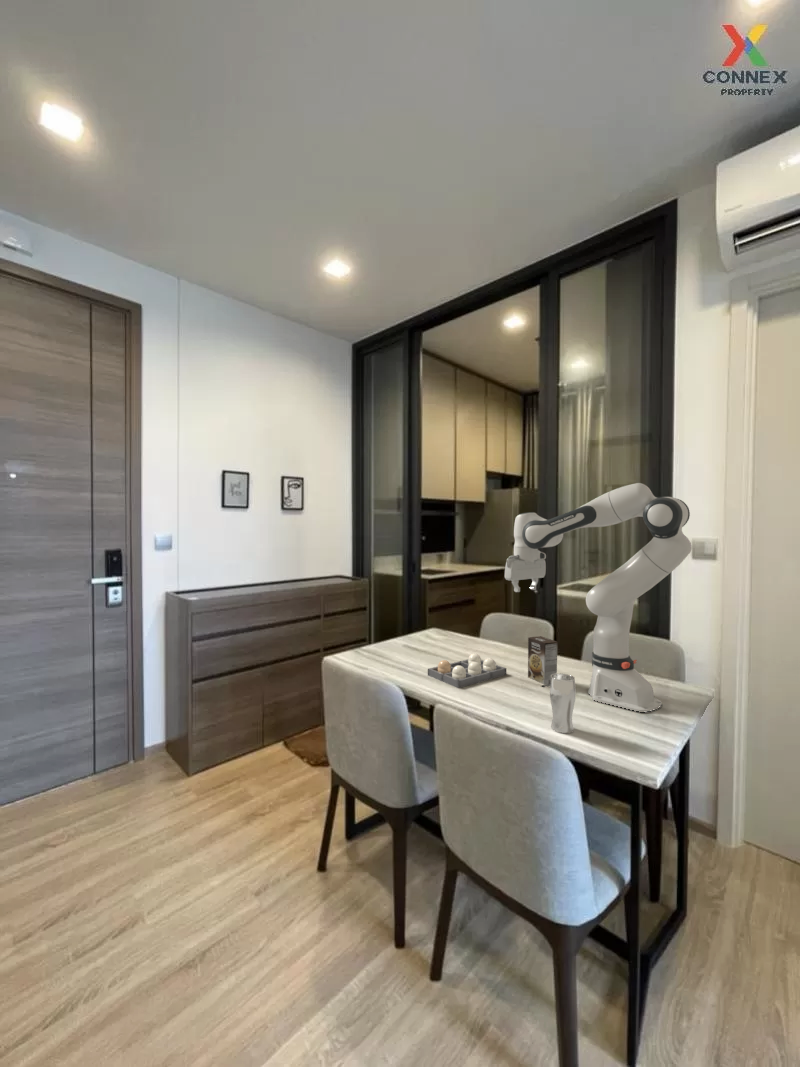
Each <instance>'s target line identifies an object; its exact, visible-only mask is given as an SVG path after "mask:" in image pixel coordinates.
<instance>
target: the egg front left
mask: <svg viewBox="0 0 800 1067" xmlns="http://www.w3.org/2000/svg"><path fill="white" fill-rule="evenodd" d="M452 677H453V678H455V679H458V680H459V679H463V678H466V670H465V668H464V667H462V666H460V665H458V666H455V667H454V668H453V670H452Z"/></svg>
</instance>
